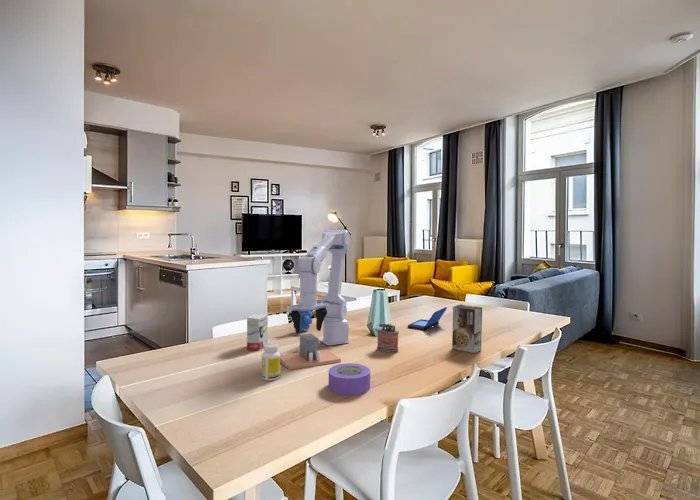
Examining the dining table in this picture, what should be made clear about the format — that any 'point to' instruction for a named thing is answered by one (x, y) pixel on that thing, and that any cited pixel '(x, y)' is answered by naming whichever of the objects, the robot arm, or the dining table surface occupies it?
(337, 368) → the tape roll
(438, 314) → the handheld game console
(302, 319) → the grapes
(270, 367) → the supplement bottle
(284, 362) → the pin tray
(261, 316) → the ink box
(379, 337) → the lighter
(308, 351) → the grey rectangular block
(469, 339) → the coffee box
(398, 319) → the dining table surface
